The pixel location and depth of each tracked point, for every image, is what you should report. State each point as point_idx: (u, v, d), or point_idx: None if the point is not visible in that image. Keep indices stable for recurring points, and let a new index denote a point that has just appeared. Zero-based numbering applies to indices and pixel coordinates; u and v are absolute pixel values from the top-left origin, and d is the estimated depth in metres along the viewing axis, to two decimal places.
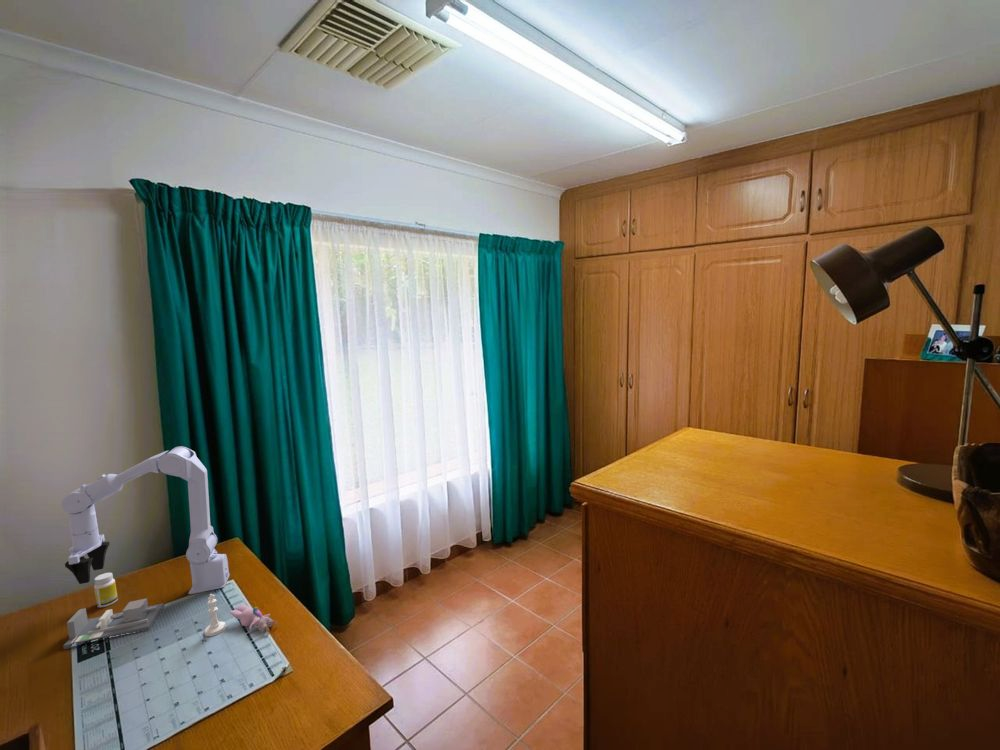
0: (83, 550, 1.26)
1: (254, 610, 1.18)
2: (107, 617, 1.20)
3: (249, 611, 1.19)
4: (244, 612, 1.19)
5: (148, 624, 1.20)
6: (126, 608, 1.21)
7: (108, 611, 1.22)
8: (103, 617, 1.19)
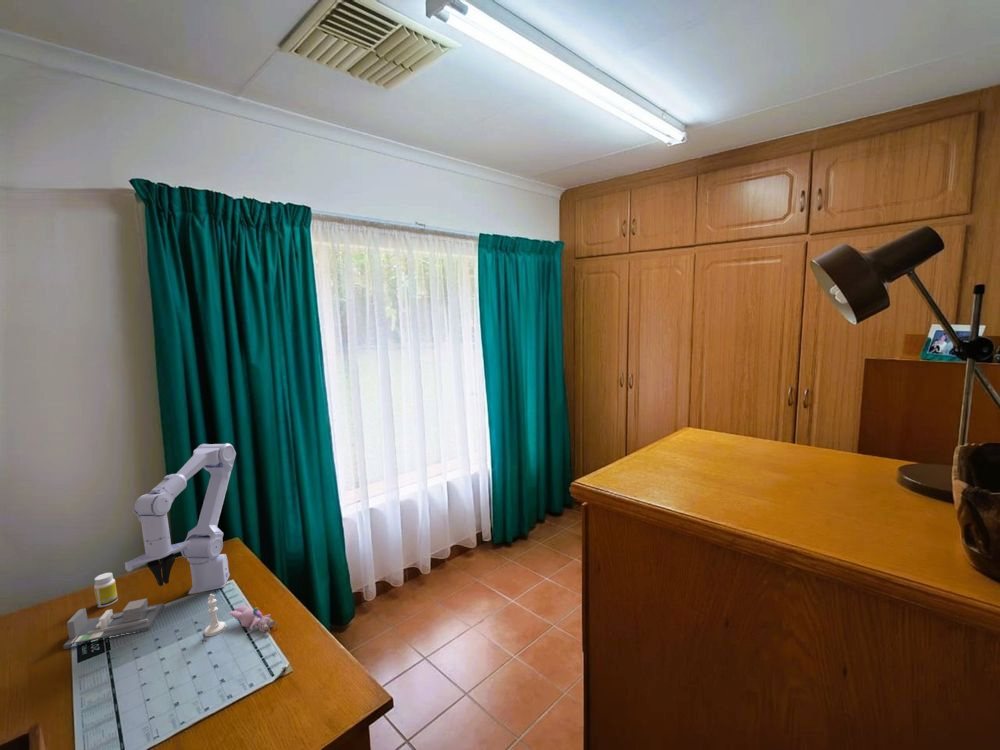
0: (146, 558, 1.21)
1: (254, 611, 1.18)
2: (107, 617, 1.20)
3: (249, 611, 1.19)
4: (244, 613, 1.19)
5: (148, 624, 1.20)
6: (126, 608, 1.21)
7: (108, 611, 1.22)
8: (103, 617, 1.19)
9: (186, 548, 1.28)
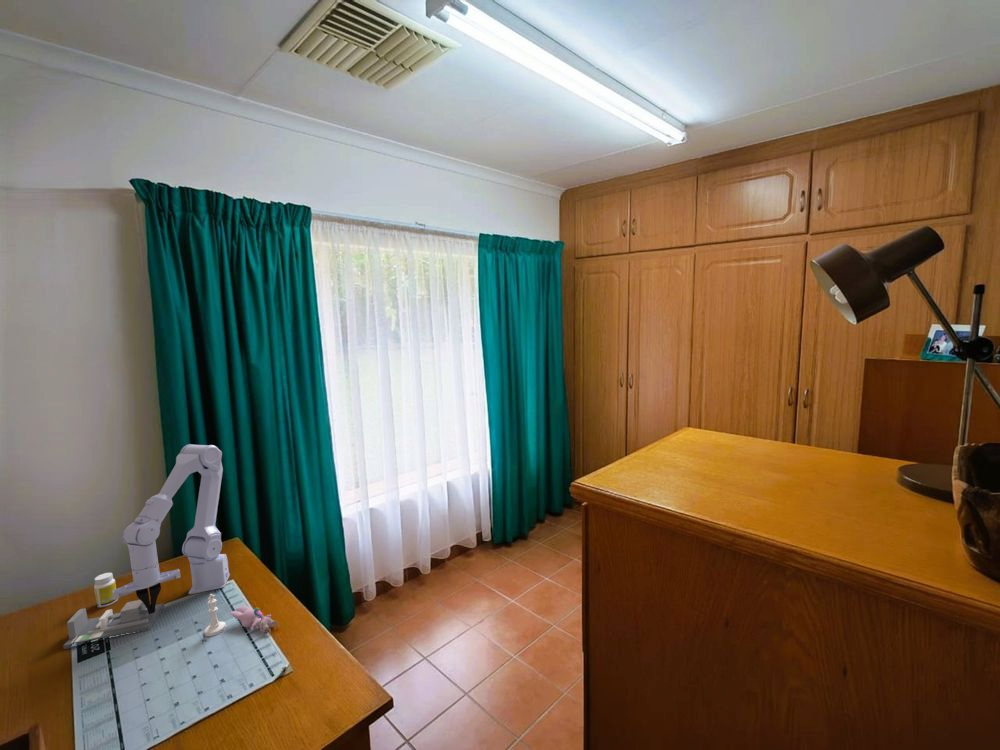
0: (133, 586, 1.21)
1: (255, 611, 1.18)
2: (107, 617, 1.20)
3: (250, 612, 1.19)
4: (245, 613, 1.18)
5: (148, 624, 1.20)
6: (124, 608, 1.21)
7: (108, 611, 1.22)
8: (103, 617, 1.19)
9: (175, 577, 1.27)
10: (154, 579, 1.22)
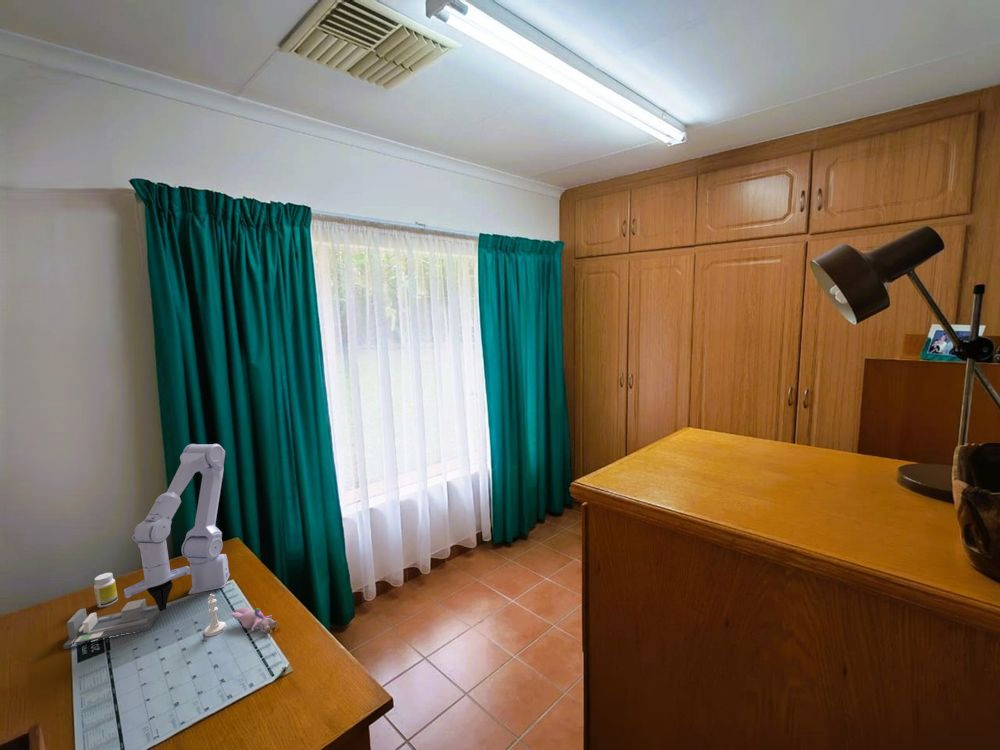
0: (145, 584, 1.21)
1: (256, 611, 1.17)
2: (90, 621, 1.19)
3: (250, 612, 1.18)
4: (245, 614, 1.18)
5: (148, 624, 1.20)
6: (124, 608, 1.21)
7: (92, 614, 1.21)
8: (86, 621, 1.18)
9: (185, 573, 1.28)
10: (166, 576, 1.23)
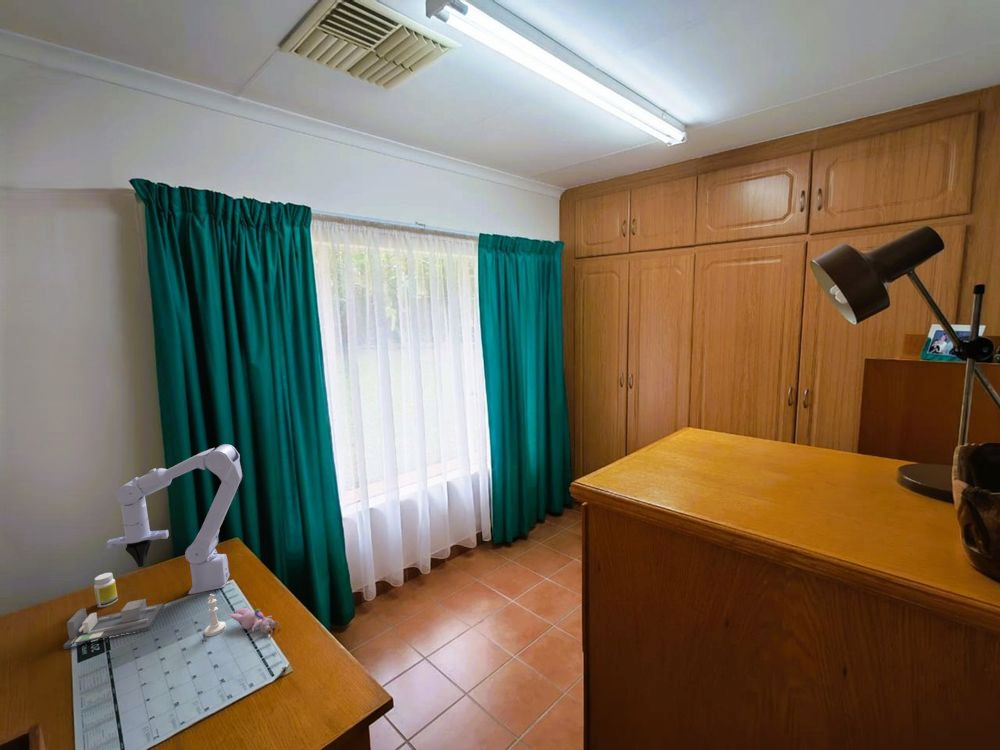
0: (125, 539, 1.32)
1: (256, 612, 1.17)
2: (90, 621, 1.19)
3: (250, 613, 1.18)
4: (245, 615, 1.18)
5: (148, 624, 1.20)
6: (124, 608, 1.21)
7: (92, 614, 1.21)
8: (86, 621, 1.18)
9: (162, 537, 1.35)
10: (140, 536, 1.32)
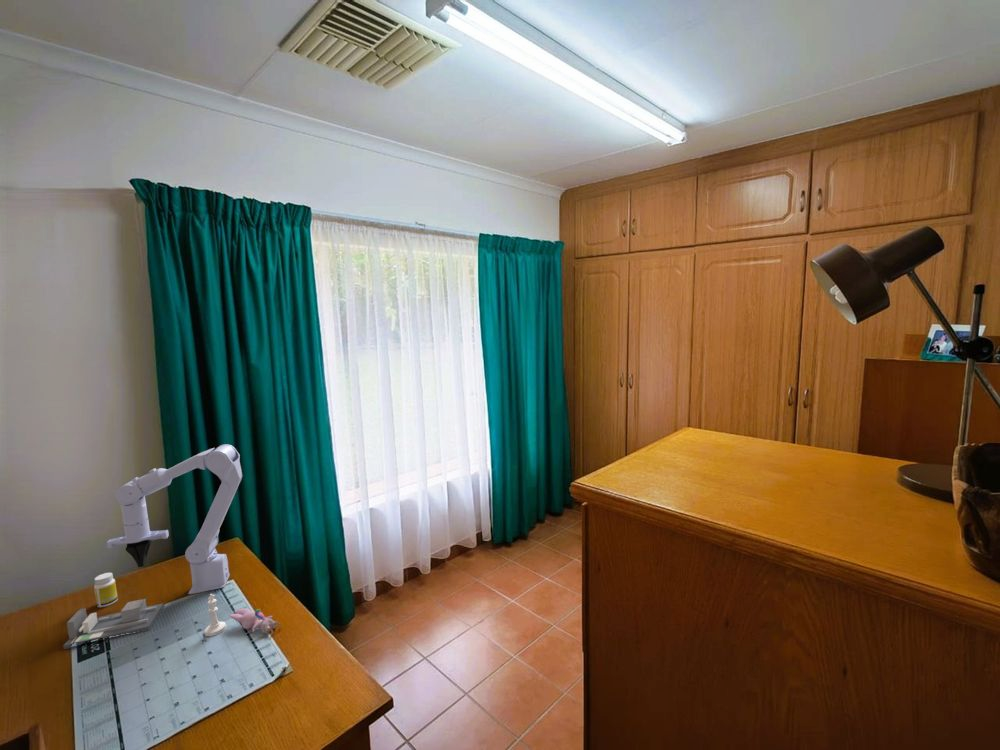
0: (125, 539, 1.32)
1: (256, 612, 1.17)
2: (90, 621, 1.19)
3: (250, 613, 1.18)
4: (245, 615, 1.18)
5: (148, 624, 1.20)
6: (124, 608, 1.21)
7: (92, 614, 1.21)
8: (86, 621, 1.18)
9: (162, 537, 1.35)
10: (140, 536, 1.32)
